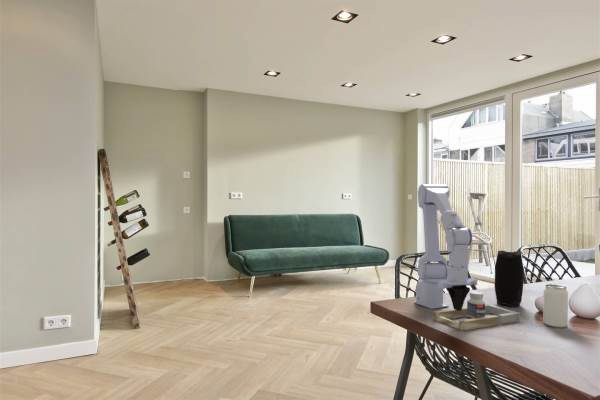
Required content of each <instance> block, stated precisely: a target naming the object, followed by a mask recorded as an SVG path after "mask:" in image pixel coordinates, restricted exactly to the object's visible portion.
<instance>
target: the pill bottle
mask: <svg viewBox="0 0 600 400" xmlns="http://www.w3.org/2000/svg"><path fill="white" fill-rule="evenodd" d="M485 304H486V302H485V300H484V293H483V292H481V291H475V290H474V291H473V290H472V291H471V290H470V291H469V298H468V299H467V304H466V305H467V306H466V307H467V316H466V320H468V319H474V318H480V317H486V313H485Z"/></svg>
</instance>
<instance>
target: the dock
mask: <svg viewBox="0 0 600 400" xmlns="http://www.w3.org/2000/svg"><path fill="white" fill-rule="evenodd" d="M485 314H492V315H496V316H499V324H501V325H503V324H509V323H514V322H519V321H520V312H518V311H517V312H516V311H514V310H510V309H507V308H504V307H500V306H497V305H493V304H489V303H485Z"/></svg>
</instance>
